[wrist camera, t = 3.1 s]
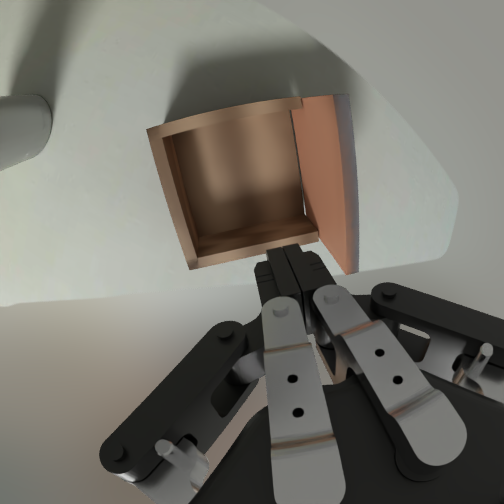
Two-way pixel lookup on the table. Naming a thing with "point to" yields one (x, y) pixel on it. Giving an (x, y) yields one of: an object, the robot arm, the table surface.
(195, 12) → the table surface
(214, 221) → the box
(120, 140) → the table surface
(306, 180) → the panel
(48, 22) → the table surface
